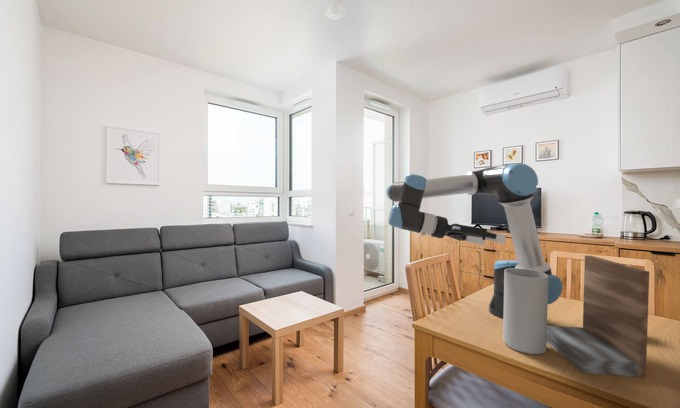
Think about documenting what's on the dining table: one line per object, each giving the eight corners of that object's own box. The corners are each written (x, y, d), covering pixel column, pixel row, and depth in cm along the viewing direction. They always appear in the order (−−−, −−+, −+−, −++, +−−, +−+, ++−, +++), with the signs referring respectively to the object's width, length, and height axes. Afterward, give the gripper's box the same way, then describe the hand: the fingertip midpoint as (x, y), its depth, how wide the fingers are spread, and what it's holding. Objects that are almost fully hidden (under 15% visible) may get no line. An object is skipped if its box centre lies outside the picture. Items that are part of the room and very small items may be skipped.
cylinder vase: (555, 352, 94) (557, 276, 94) (526, 358, 91) (528, 279, 90) (521, 334, 106) (523, 267, 106) (494, 339, 103) (495, 269, 102)
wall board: (582, 372, 83) (585, 269, 83) (539, 336, 105) (541, 254, 104) (645, 377, 81) (649, 271, 81) (588, 338, 103) (591, 255, 102)
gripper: (421, 238, 112) (475, 252, 111) (443, 233, 88) (513, 250, 87) (425, 219, 114) (478, 233, 113) (448, 209, 89) (516, 226, 88)
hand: (493, 240), depth 100 cm, fingers open, 13 cm apart
